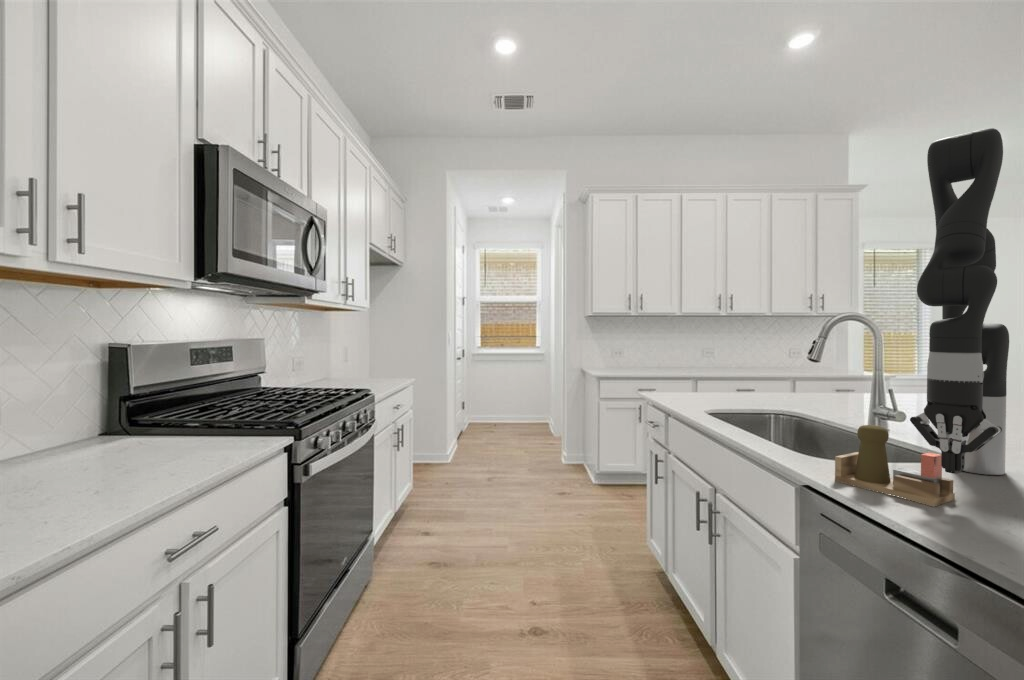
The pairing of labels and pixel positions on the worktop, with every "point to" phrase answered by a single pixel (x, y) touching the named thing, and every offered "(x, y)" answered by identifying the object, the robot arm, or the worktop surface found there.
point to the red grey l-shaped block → (925, 469)
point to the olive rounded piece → (872, 455)
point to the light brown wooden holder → (895, 483)
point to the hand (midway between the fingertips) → (952, 472)
